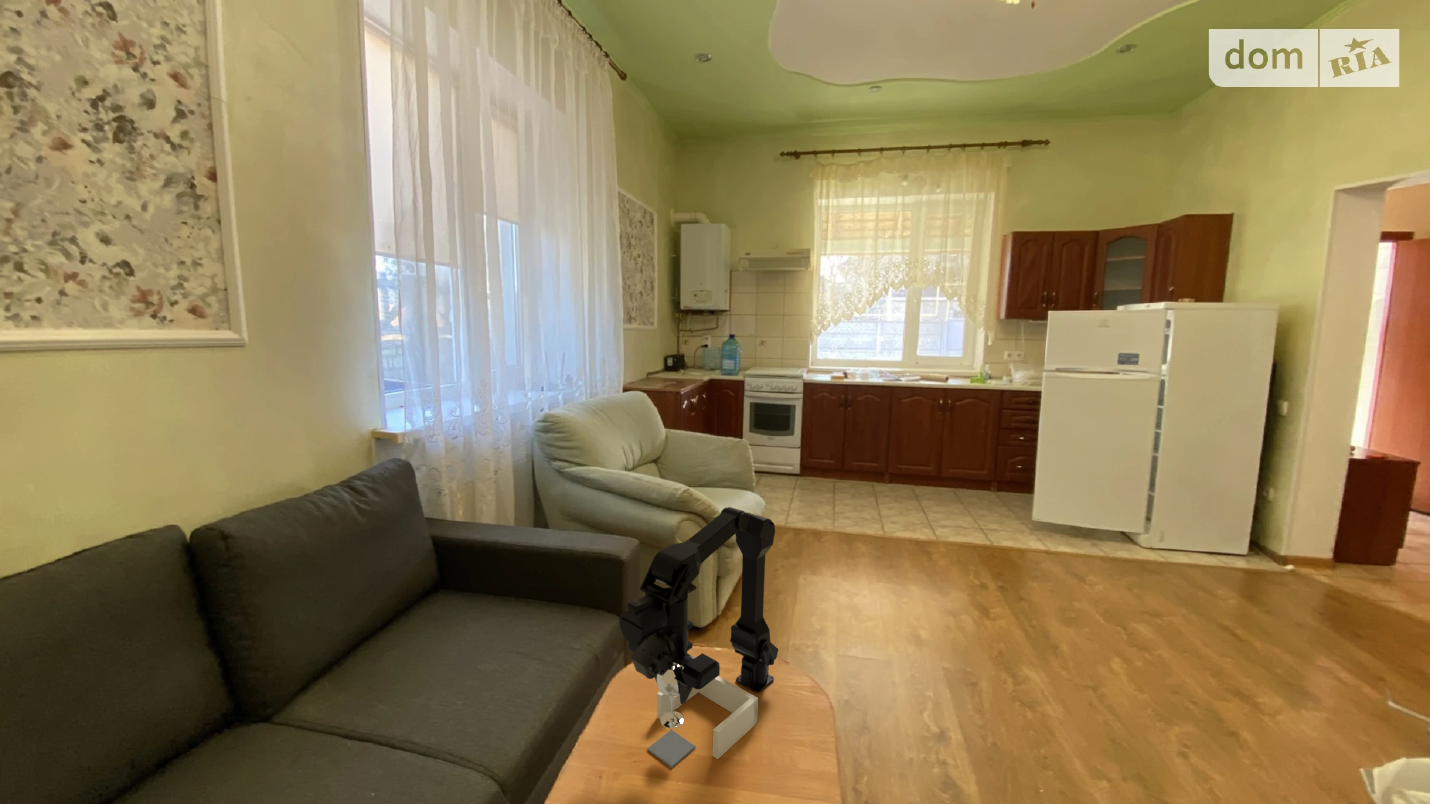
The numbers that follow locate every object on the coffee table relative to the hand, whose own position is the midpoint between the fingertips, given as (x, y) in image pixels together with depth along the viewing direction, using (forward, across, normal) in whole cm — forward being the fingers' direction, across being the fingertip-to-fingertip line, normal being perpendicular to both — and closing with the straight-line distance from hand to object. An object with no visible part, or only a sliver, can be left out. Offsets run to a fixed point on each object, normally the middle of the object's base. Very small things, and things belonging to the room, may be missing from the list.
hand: (672, 696), depth 102 cm
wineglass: (+5, 0, 0) cm, 5 cm away
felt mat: (+11, 0, 0) cm, 11 cm away
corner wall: (+11, 0, +10) cm, 15 cm away
